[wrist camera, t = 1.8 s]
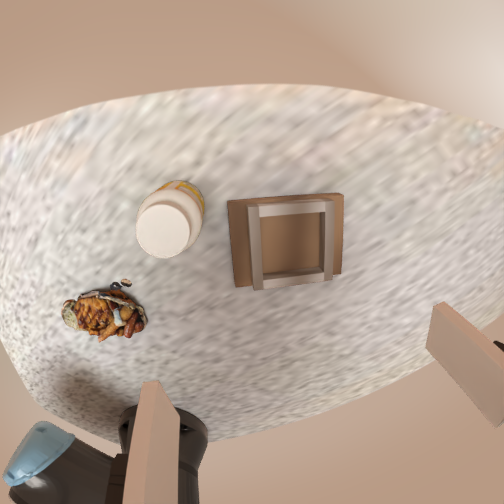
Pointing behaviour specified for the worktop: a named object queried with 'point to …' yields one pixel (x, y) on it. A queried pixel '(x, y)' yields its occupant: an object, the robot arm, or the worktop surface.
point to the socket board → (286, 239)
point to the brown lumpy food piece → (105, 313)
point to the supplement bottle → (170, 219)
